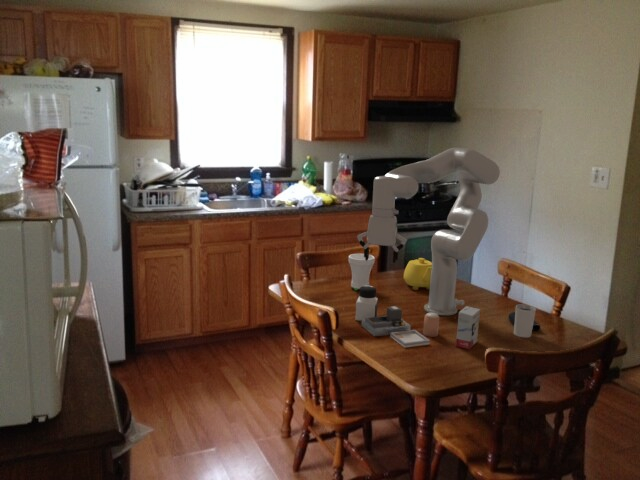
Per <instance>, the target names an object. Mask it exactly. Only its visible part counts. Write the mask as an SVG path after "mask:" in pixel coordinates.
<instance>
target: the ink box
mask: <svg viewBox="0 0 640 480" xmlns="http://www.w3.org/2000/svg"><path fill="white" fill-rule="evenodd" d="M480 313H481V308H476V307H471V306H468V305H467V306H464V308H462V309H461V310H460V311H458V319H457V328H456V329H457V330H456V338H455V347H458V348H461V349H466V350H471V349H472V347H473V346H474V345H475V344H476V343H477V342H478V333H479V323H480Z"/></svg>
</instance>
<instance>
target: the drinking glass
mask: <svg viewBox="0 0 640 480" xmlns="http://www.w3.org/2000/svg"><path fill="white" fill-rule="evenodd" d="M536 309H537V308H536V307H535V306H533V305H532V304H531V305H530V304H525V303H524V304H523V303H522V304H516V305H515V311H514V312H515V324H514V325H513V334H514V335H515V336H517V337H520V338H530V337H532V333H533V331H532V329H533V323H534V320H535V317H536Z"/></svg>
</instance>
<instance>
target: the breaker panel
mask: <svg viewBox="0 0 640 480" xmlns="http://www.w3.org/2000/svg"><path fill="white" fill-rule="evenodd" d="M386 317H387V315H380V316H377V317H369V318H365V319H362V321H361V327H363V329H365V331H367V332H369V333H370V334H371V335H372V336H373V337H379V336H387V335H388V336H389V335H390V333H392V332H401V331H409V330H411V329H412V328H411V327H412V326H411V324H409V322H407V321H405V320H404V319H403V318H401V320H397V321H388V320H386Z"/></svg>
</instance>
